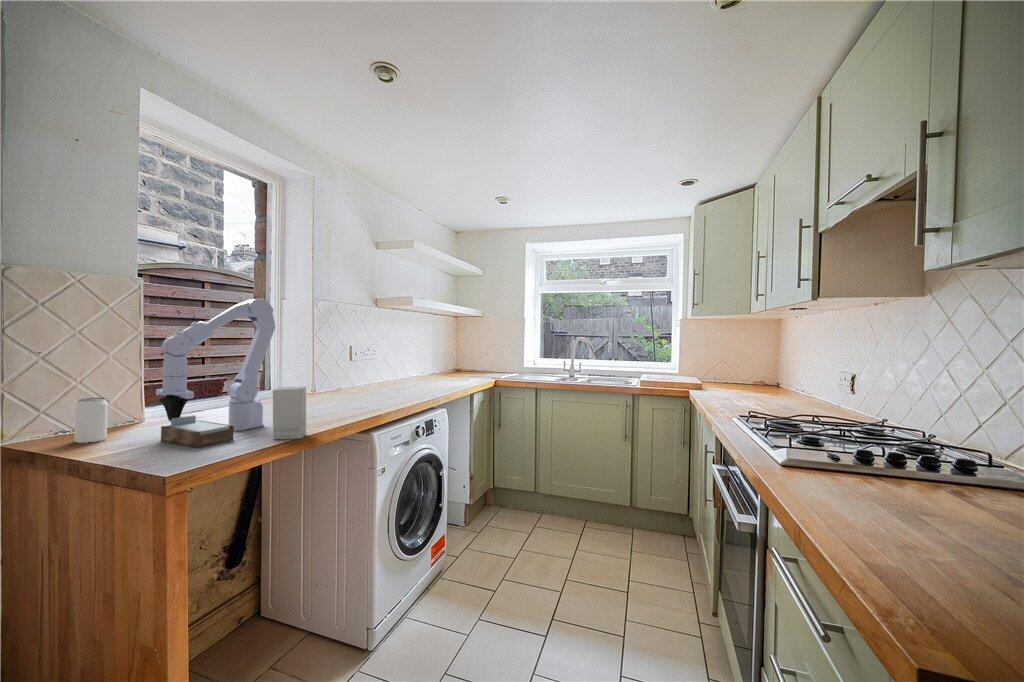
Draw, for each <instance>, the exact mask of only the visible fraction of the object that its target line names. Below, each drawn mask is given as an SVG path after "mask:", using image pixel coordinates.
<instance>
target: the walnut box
mask: <svg viewBox="0 0 1024 682" xmlns="http://www.w3.org/2000/svg"><path fill="white" fill-rule="evenodd" d="M196 421H199V422H206V423H213V424H220V425H226V426H230V428H229V430H224V431H218V432H213V433H208V434H203V435H200V432H197V431H191V430H185V429H178V428H172V427H166V426H167V425H161V426H160V442H162V443H167V444H173V445H177V446H178V445H179V446H184V447H189V448H195V449H201V448H204V447H205V448H206V447H209V446H213V445H219V444H222V442H223V443H227V442H226V441H228V442H231V441H230V440H232V441H234V431H235V430H234V426H233V425H229V424H225V423H218V422H212V421H205V420H198V419H197V420H196ZM218 443H219V444H218Z"/></svg>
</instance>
